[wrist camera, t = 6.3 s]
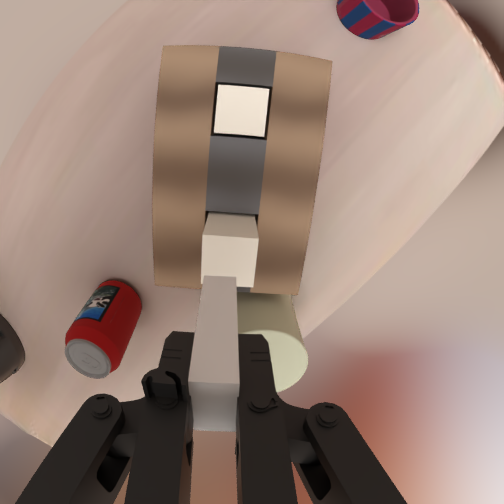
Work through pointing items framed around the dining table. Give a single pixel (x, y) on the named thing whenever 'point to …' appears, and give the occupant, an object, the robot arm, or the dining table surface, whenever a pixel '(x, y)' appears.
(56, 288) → the dining table surface
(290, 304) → the can
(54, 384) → the dining table surface
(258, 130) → the peg
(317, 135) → the socket block
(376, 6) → the mug
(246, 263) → the peg
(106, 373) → the beverage can
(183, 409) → the robot arm
